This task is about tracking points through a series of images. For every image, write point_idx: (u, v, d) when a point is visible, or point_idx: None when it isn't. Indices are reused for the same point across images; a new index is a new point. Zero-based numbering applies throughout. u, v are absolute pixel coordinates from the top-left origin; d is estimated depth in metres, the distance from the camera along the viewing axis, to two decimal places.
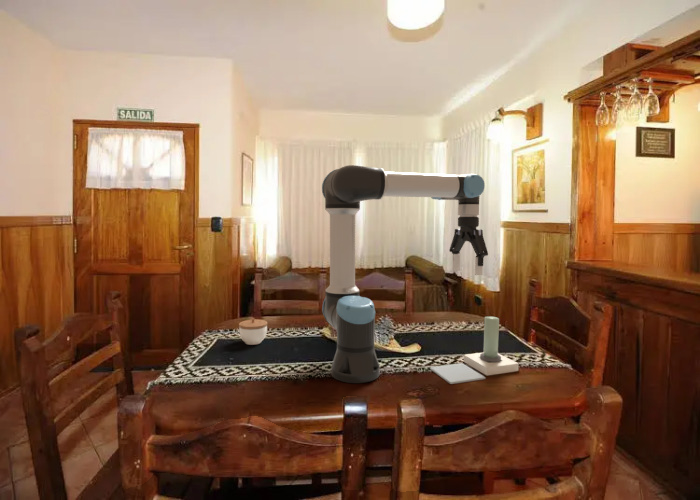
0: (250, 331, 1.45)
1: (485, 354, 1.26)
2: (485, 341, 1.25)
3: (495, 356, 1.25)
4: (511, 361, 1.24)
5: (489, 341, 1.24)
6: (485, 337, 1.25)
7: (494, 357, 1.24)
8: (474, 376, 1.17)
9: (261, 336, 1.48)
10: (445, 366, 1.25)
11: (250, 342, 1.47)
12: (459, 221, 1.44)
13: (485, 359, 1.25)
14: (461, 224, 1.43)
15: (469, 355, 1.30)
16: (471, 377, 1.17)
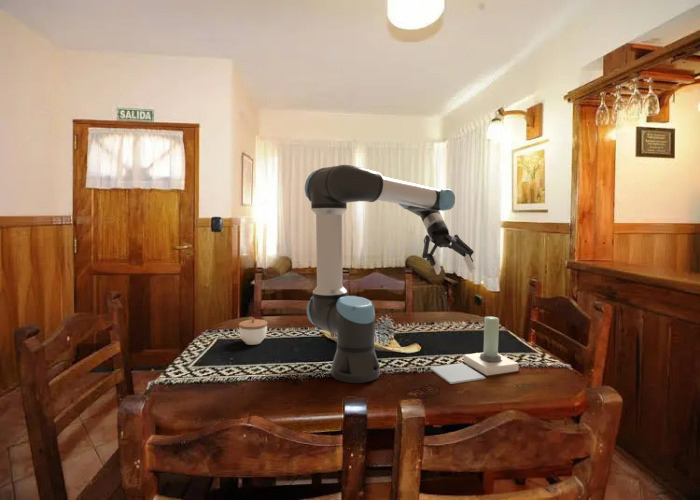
0: (250, 331, 1.45)
1: (485, 354, 1.26)
2: (485, 341, 1.25)
3: (495, 356, 1.25)
4: (511, 361, 1.24)
5: (489, 341, 1.24)
6: (485, 337, 1.25)
7: (494, 357, 1.24)
8: (474, 376, 1.17)
9: (261, 336, 1.48)
10: (445, 366, 1.25)
11: (250, 342, 1.47)
12: (440, 224, 1.46)
13: (485, 359, 1.25)
14: (444, 227, 1.46)
15: (469, 355, 1.30)
16: (471, 377, 1.17)
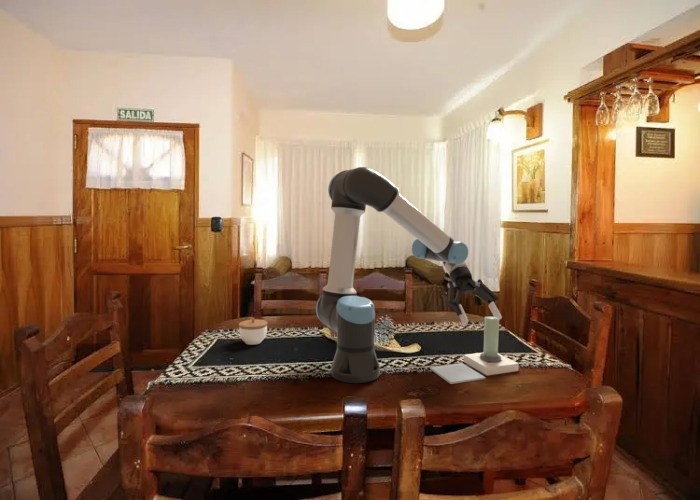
0: (250, 331, 1.45)
1: (485, 354, 1.26)
2: (485, 341, 1.25)
3: (495, 356, 1.25)
4: (511, 361, 1.24)
5: (489, 341, 1.24)
6: (485, 337, 1.25)
7: (494, 357, 1.24)
8: (474, 376, 1.17)
9: (261, 336, 1.48)
10: (445, 366, 1.25)
11: (250, 342, 1.47)
12: (464, 269, 1.41)
13: (485, 359, 1.25)
14: (468, 272, 1.41)
15: (469, 355, 1.30)
16: (471, 377, 1.17)
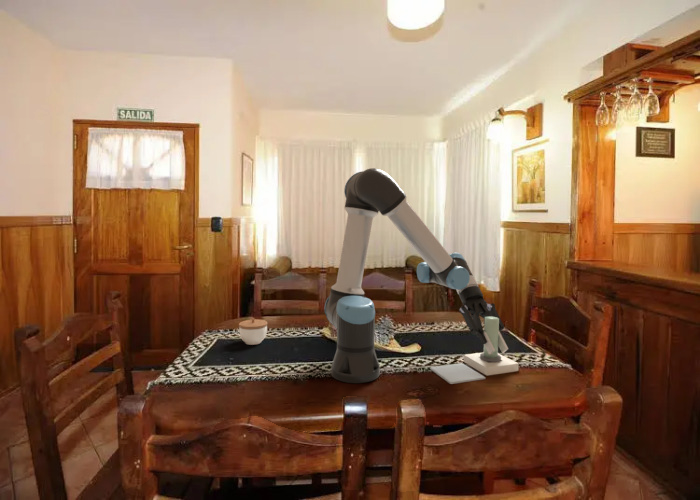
0: (250, 331, 1.45)
1: (485, 354, 1.26)
2: None
3: (495, 356, 1.25)
4: (511, 361, 1.24)
5: None
6: None
7: (494, 357, 1.24)
8: (474, 376, 1.17)
9: (261, 336, 1.48)
10: (445, 366, 1.25)
11: (250, 342, 1.47)
12: (475, 289, 1.33)
13: (485, 359, 1.25)
14: (479, 292, 1.33)
15: (469, 355, 1.30)
16: (471, 377, 1.17)
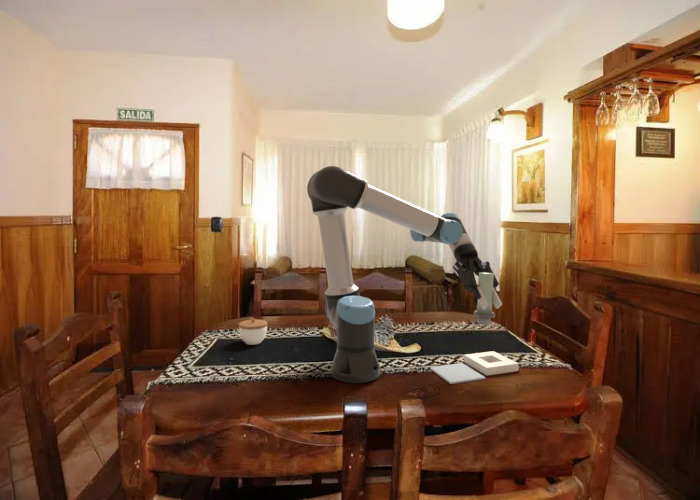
0: (250, 331, 1.45)
1: (479, 310, 1.23)
2: None
3: (489, 312, 1.22)
4: (511, 361, 1.24)
5: None
6: None
7: (488, 313, 1.22)
8: (474, 376, 1.17)
9: (261, 336, 1.48)
10: (445, 366, 1.25)
11: (250, 342, 1.47)
12: (469, 246, 1.30)
13: (479, 315, 1.22)
14: (473, 249, 1.30)
15: (469, 355, 1.30)
16: (471, 377, 1.17)
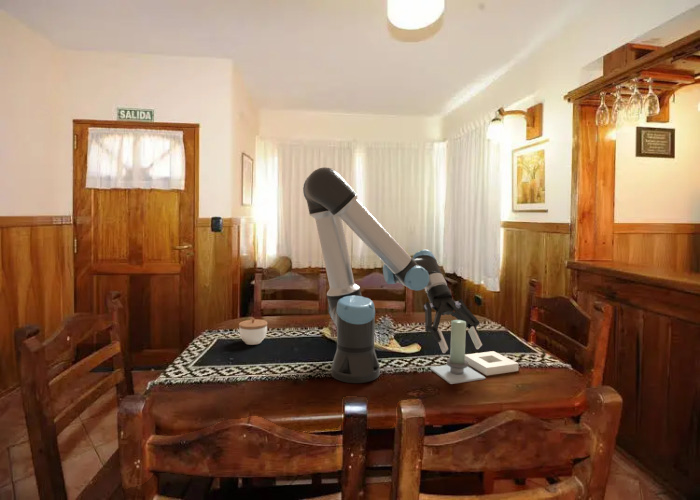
0: (250, 331, 1.45)
1: (451, 359, 1.19)
2: (451, 346, 1.19)
3: (461, 362, 1.18)
4: (511, 361, 1.24)
5: (455, 345, 1.18)
6: (451, 341, 1.19)
7: (460, 363, 1.18)
8: (474, 376, 1.17)
9: (261, 336, 1.48)
10: (445, 366, 1.25)
11: (250, 342, 1.47)
12: (442, 288, 1.27)
13: (451, 365, 1.18)
14: (447, 291, 1.26)
15: (469, 355, 1.30)
16: (471, 377, 1.17)
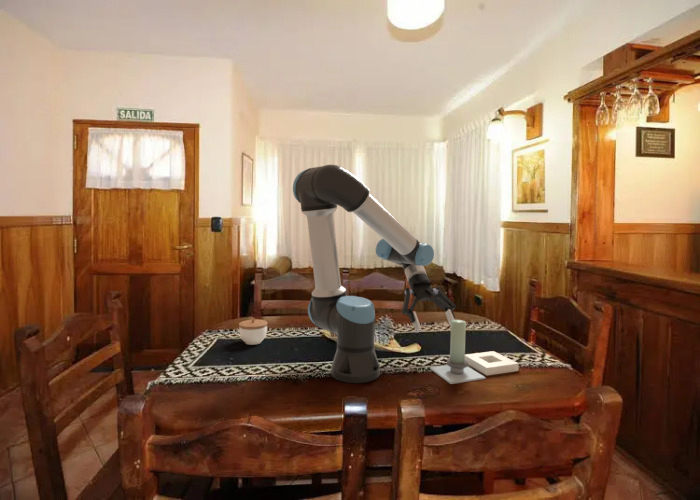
0: (250, 331, 1.45)
1: (451, 359, 1.19)
2: (451, 346, 1.19)
3: (461, 361, 1.18)
4: (511, 361, 1.24)
5: (455, 345, 1.18)
6: (451, 341, 1.19)
7: (460, 363, 1.18)
8: (474, 376, 1.17)
9: (261, 336, 1.48)
10: (445, 366, 1.25)
11: (250, 342, 1.47)
12: (422, 276, 1.40)
13: (451, 365, 1.18)
14: (425, 279, 1.40)
15: (469, 355, 1.30)
16: (471, 377, 1.17)
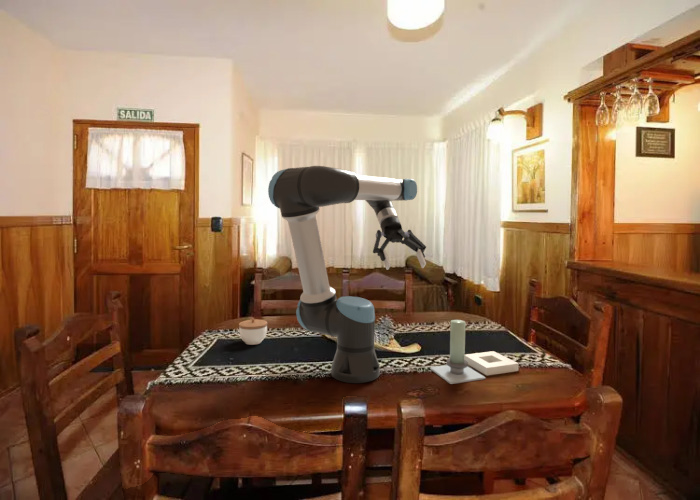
0: (250, 331, 1.45)
1: (451, 359, 1.19)
2: (451, 346, 1.19)
3: (461, 362, 1.18)
4: (511, 361, 1.24)
5: (455, 346, 1.18)
6: (451, 342, 1.19)
7: (460, 363, 1.18)
8: (474, 376, 1.17)
9: (261, 336, 1.48)
10: (445, 366, 1.25)
11: (250, 342, 1.47)
12: (393, 219, 1.43)
13: (451, 365, 1.18)
14: (396, 221, 1.43)
15: (469, 355, 1.30)
16: (471, 377, 1.17)
